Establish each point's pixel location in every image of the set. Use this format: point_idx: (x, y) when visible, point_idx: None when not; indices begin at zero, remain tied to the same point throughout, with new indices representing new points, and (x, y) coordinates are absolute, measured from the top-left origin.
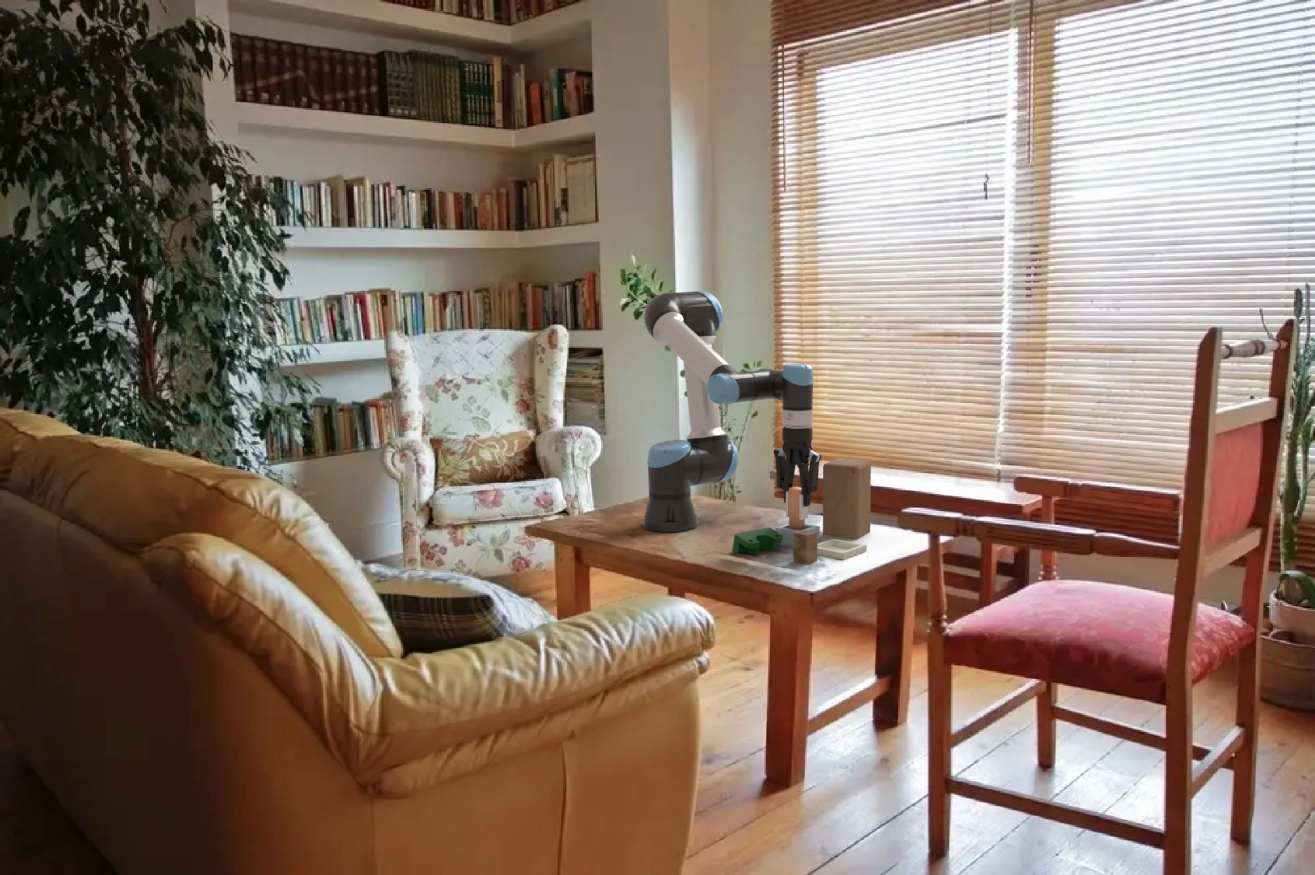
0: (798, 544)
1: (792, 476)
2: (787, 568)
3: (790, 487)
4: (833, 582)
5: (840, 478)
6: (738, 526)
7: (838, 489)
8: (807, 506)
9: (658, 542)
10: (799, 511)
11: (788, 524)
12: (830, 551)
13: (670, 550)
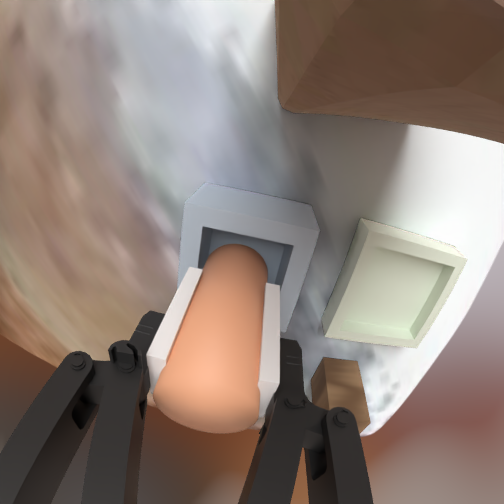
0: None
1: (133, 455)
2: (305, 393)
3: (141, 383)
4: (396, 407)
5: None
6: (15, 133)
7: (453, 126)
8: (278, 325)
9: (24, 321)
10: None
11: (188, 254)
12: (386, 344)
13: None
